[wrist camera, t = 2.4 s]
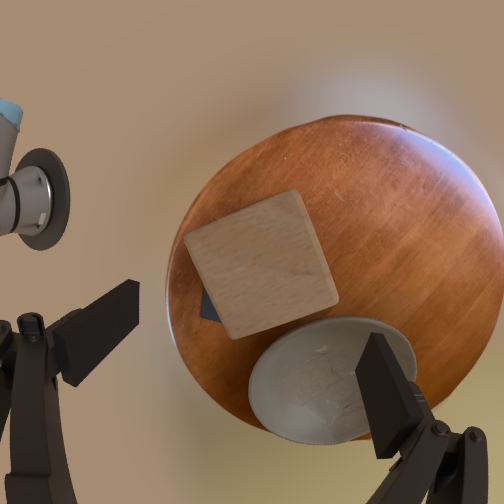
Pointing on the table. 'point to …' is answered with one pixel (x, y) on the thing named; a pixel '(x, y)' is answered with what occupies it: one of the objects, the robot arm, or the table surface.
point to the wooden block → (263, 265)
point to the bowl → (320, 379)
